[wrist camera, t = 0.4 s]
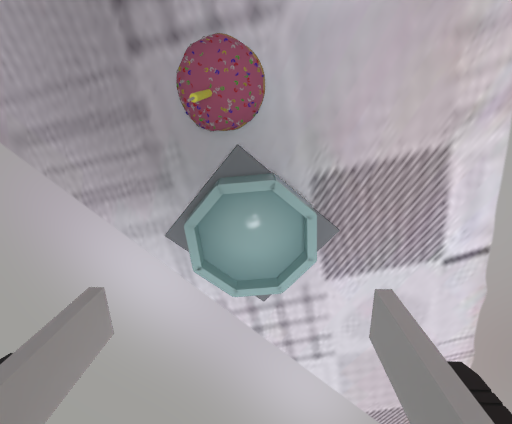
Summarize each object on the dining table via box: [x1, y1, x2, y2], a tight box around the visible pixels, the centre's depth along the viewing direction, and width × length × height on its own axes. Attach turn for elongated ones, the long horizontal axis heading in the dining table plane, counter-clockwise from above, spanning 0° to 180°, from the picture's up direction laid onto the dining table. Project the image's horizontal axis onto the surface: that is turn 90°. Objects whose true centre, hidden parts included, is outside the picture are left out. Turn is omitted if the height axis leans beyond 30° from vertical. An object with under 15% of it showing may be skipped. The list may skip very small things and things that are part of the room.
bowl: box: [184, 173, 317, 297], centre depth 35 cm, size 16×16×3 cm
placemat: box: [165, 145, 340, 301], centre depth 37 cm, size 16×18×1 cm
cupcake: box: [177, 33, 265, 131], centre depth 25 cm, size 9×8×12 cm
